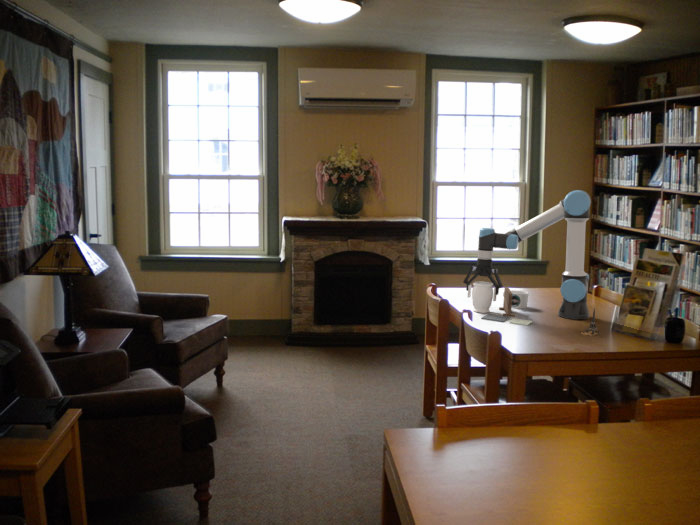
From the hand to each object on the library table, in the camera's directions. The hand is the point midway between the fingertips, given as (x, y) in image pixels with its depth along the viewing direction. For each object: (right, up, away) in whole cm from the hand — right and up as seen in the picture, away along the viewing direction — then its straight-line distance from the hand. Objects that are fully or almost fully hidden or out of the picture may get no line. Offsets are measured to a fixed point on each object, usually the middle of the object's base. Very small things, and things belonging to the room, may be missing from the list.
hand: (481, 299), depth 367 cm
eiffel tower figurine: (+44, -15, -38) cm, 59 cm away
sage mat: (+15, -10, -22) cm, 28 cm away
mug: (+21, -5, +17) cm, 27 cm away
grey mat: (+4, -9, -15) cm, 18 cm away
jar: (0, -7, +1) cm, 7 cm away
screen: (+13, -7, 0) cm, 15 cm away
